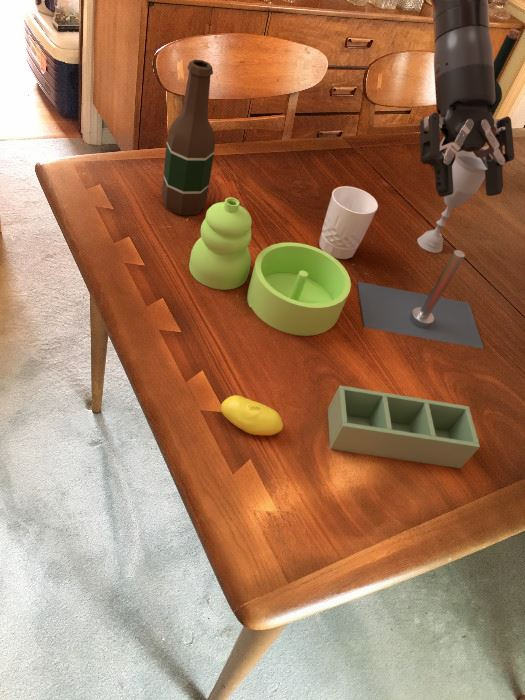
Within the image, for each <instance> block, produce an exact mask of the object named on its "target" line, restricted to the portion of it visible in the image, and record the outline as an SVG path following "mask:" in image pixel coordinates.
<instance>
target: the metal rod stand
mask: <svg viewBox="0 0 525 700" xmlns="http://www.w3.org/2000/svg"><path fill="white" fill-rule="evenodd" d="M465 256H466V253H464V252H463V251H462V250H460V249H455V250H454V251H453V253H452V254H451V257H450V258H449V259H448V261H447V263H446V265H445V267H444V268H443V270H442V271H441V273H440V276H439V277H438V279H437V281H436V282H435V284H434V286H433V288H432V289H431V291H430V293H429V294H428V295H429V296H428V298H427V300H426V301H425V303H424V305H423V307H422V308H421V307H418V308H415V309H414V310H413V311H412V313H411V315H410V320H411V322H412V323H413V324H414V325H416V326H418V327H420V328H428V327H430V326H431V324H432V323H433V321H434V316H433V314H432V313H431V312H432V310H433V308H434V307H435V305H436V303H437V302H438V300H439V298H440V297H441V298H442V295H443V294H444V291H445V290H446V288H447V287H448V285H449V284H450V282H451V280H452V279H453V277H454V275H455V273H456V271H457V270H458V268H459V267H460V265H461V263H462V262H463V260H464V259H465Z"/></svg>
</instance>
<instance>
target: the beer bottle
mask: <svg viewBox="0 0 525 700" xmlns="http://www.w3.org/2000/svg"><path fill="white" fill-rule="evenodd" d="M187 70H188V75H187V81H186V87H185V92H184V98H183V104H182V107H181V111H180V114H179V115H178V116H177V117H176V118H175V119H174V120H173V121H172V123H171V125H170V127H169V129H168V132H167V137H166V144H165V147H166V148H165V156H164V167H163V178H162V187H161V188H162V189H161V199H162V201H163V203H164V206H165V208H166V210H168V211H170V212H172V213H175V214H176V215H179V216H197V215H198V214H199V213H200V212H201V211H202V210H203V209H204V208H205V207H206V204H207V198H208V193H209V186H210V181H211V174H212V169H213V163H214V157H215V148H216V137H215V134H214V133H215V132H214V130H213V127H212V125H211V123H210V121H209V99H210V87H211V76H212V75H214V71H213V66H212V65H211V63H210V62H207V61H205V60H203V59H192V60H191V61H189V62H188V65H187Z"/></svg>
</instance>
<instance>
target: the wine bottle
mask: <svg viewBox="0 0 525 700" xmlns="http://www.w3.org/2000/svg"><path fill="white" fill-rule="evenodd" d="M519 34H520V30H518V29H515V28H513V27H511V29H510V32H509V34H507V35H506V36H505V37H504V40H503V42H502V44H501V46H500V48H499V50H498V53H497V55H496V56H495V58H494V59H493V62H494V81H495V102H494V104H493V106H492V108H491V113H492V116H493V117H494V116H495V113H496V112H497V109H498V107H499V106H500V104H501V101H502V99H503V91H502V87H501V84H500V83H499V81H498V79H499V77H500V74H501V72H502V71H503V68H504V67H505V64H506V63H507V61H508V59H509V57H510V55H511V53H512V51H513V49H514V47H515V45H516V43H517V41H518V38H517V37H518V35H519ZM443 137H444V136H443ZM443 137H442V138H443ZM455 159H456V153H455V155H454V157H453V159H452V161H451V163H450V164H449V166H452V165H453V163H454V161H455Z"/></svg>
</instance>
